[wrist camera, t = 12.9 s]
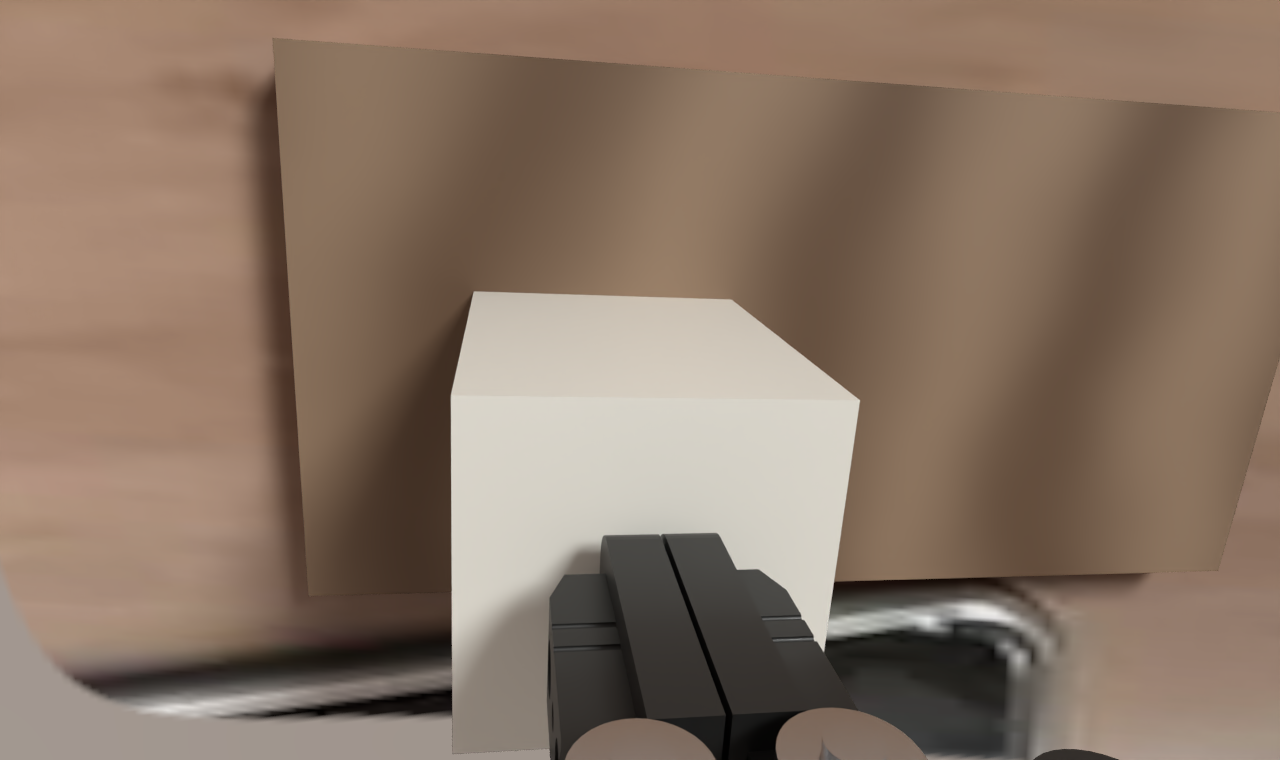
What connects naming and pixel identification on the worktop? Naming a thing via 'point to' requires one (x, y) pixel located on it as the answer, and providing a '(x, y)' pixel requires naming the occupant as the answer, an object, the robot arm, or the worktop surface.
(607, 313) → the white rectangular block
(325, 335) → the board
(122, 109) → the worktop surface
